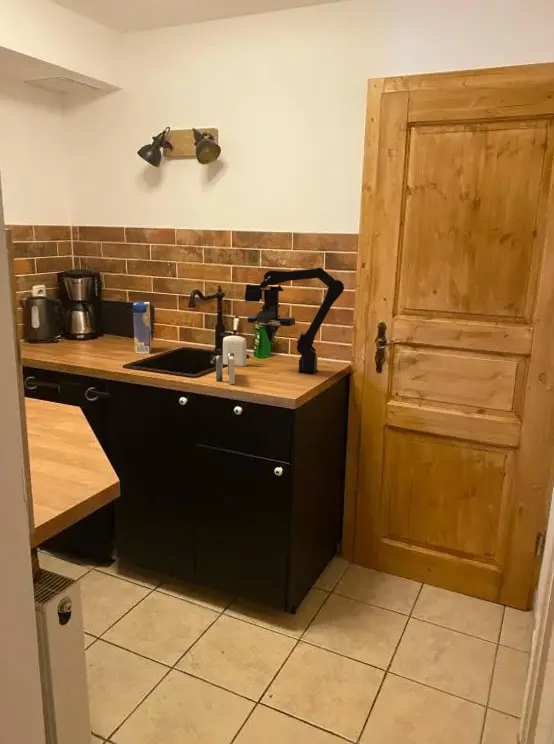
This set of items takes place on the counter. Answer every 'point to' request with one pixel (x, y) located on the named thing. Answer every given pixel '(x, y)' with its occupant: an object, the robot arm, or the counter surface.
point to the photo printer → (235, 349)
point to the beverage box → (142, 327)
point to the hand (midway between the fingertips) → (270, 341)
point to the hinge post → (228, 359)
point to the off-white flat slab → (231, 370)
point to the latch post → (219, 368)
